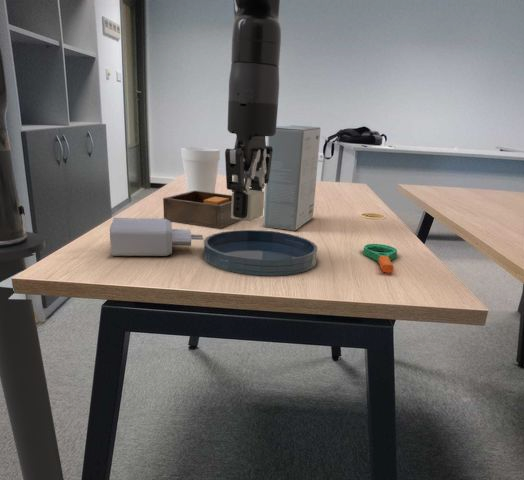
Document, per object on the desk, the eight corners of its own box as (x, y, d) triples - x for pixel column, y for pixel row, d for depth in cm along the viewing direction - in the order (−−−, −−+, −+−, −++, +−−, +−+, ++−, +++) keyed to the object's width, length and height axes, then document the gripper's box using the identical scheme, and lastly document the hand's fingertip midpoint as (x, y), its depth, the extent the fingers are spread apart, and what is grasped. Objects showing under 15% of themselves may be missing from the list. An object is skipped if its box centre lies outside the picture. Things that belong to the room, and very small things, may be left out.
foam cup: (186, 198, 127) (185, 146, 121) (220, 201, 127) (221, 148, 121) (179, 205, 118) (178, 149, 112) (216, 207, 118) (216, 151, 112)
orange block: (203, 218, 103) (203, 199, 102) (214, 214, 108) (215, 196, 106) (217, 220, 102) (218, 201, 101) (228, 216, 107) (229, 198, 105)
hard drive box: (282, 214, 115) (289, 124, 106) (313, 218, 113) (322, 127, 104) (261, 227, 102) (267, 125, 93) (295, 231, 100) (304, 128, 91)
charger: (204, 258, 79) (111, 257, 76) (201, 244, 87) (117, 242, 84) (204, 230, 77) (108, 228, 74) (201, 218, 85) (114, 215, 82)
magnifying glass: (361, 248, 91) (363, 240, 90) (393, 251, 90) (395, 242, 89) (367, 272, 77) (369, 262, 76) (405, 276, 77) (407, 266, 76)
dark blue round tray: (182, 262, 76) (182, 247, 75) (232, 238, 92) (233, 225, 91) (295, 283, 70) (297, 267, 69) (328, 253, 86) (329, 239, 85)
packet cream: (230, 218, 77) (231, 192, 75) (244, 212, 82) (245, 188, 80) (250, 221, 76) (251, 195, 74) (262, 215, 81) (264, 191, 79)
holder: (163, 220, 103) (162, 198, 100) (194, 210, 114) (194, 190, 112) (219, 228, 98) (220, 206, 96) (245, 217, 110) (246, 197, 108)
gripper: (249, 100, 78) (243, 205, 86) (209, 96, 66) (207, 218, 74) (291, 103, 76) (282, 210, 84) (258, 99, 64) (251, 225, 72)
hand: (247, 213), depth 79 cm, fingers closed on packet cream, 5 cm apart
